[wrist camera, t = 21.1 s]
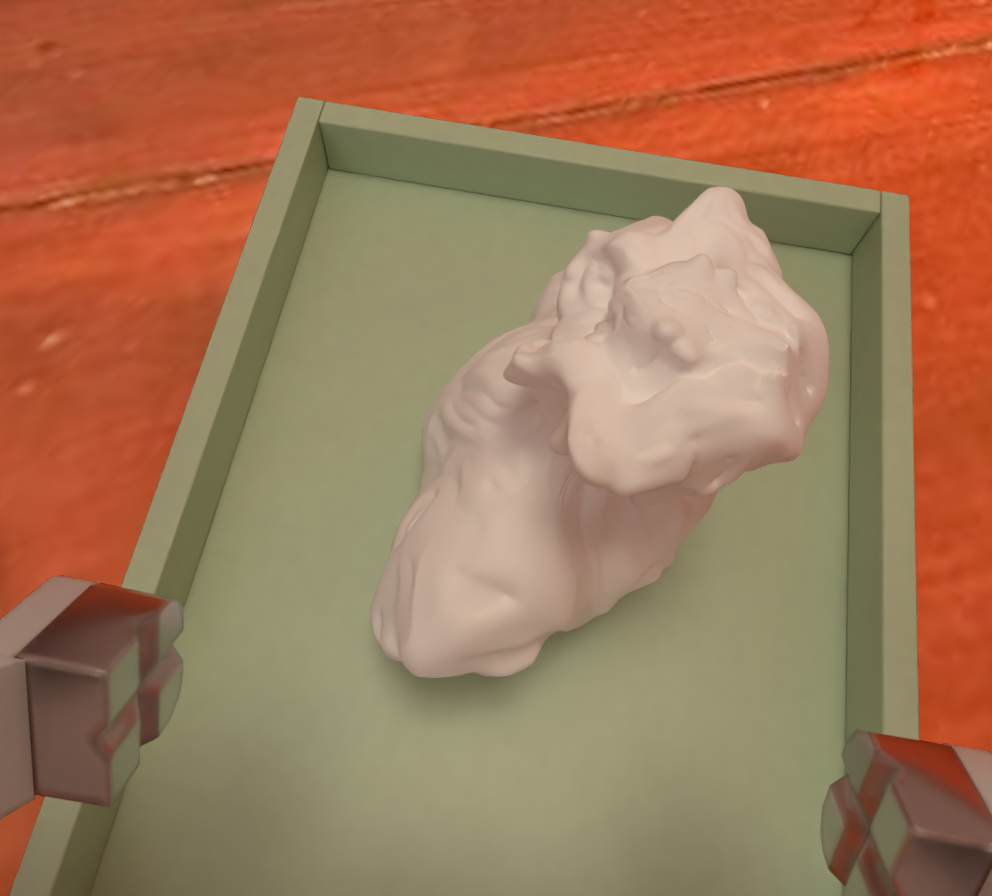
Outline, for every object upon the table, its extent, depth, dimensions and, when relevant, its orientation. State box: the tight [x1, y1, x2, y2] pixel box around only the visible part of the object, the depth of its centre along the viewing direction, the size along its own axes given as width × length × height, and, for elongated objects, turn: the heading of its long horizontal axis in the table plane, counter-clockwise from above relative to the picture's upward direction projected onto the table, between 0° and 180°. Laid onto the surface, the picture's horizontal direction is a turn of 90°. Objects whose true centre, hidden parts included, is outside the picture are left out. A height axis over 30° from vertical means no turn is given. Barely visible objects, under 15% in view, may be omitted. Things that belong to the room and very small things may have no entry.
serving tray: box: [9, 97, 919, 896], centre depth 21 cm, size 18×24×3 cm
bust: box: [370, 186, 829, 678], centre depth 18 cm, size 12×8×11 cm
